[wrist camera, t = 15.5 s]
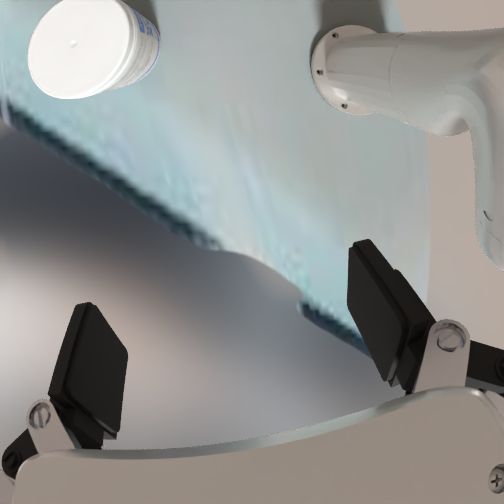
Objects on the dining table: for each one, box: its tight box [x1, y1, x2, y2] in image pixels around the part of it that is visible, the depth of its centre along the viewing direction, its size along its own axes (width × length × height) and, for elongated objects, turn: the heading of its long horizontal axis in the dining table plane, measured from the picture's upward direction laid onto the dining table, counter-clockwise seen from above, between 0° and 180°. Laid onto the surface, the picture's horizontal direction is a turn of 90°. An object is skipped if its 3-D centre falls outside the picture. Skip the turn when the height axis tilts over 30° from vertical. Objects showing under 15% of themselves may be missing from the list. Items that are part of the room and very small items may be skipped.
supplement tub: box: [28, 0, 160, 99], centre depth 22 cm, size 10×10×15 cm
